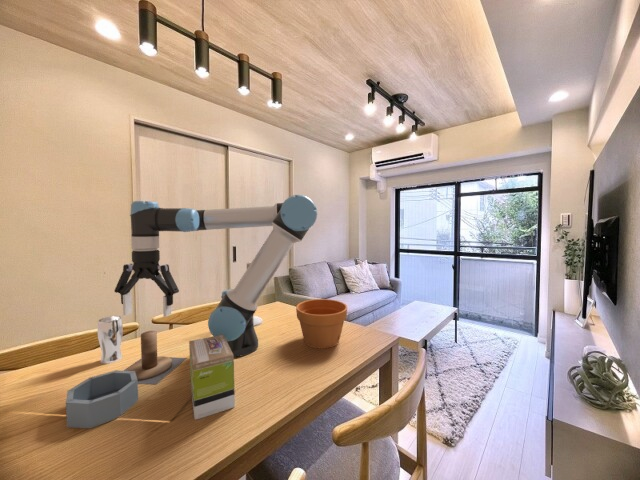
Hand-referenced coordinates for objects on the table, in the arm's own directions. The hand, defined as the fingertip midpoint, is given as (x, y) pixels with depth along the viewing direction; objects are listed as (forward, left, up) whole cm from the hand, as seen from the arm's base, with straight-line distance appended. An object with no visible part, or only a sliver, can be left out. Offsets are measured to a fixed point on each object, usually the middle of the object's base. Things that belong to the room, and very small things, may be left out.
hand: (147, 314), depth 87 cm
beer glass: (+18, -5, -19) cm, 26 cm away
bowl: (-1, +18, -19) cm, 26 cm away
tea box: (-27, +12, -19) cm, 35 cm away
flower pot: (-55, -27, -19) cm, 64 cm away
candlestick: (-18, -45, -19) cm, 52 cm away
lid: (0, 0, -18) cm, 18 cm away
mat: (0, 0, -19) cm, 19 cm away
